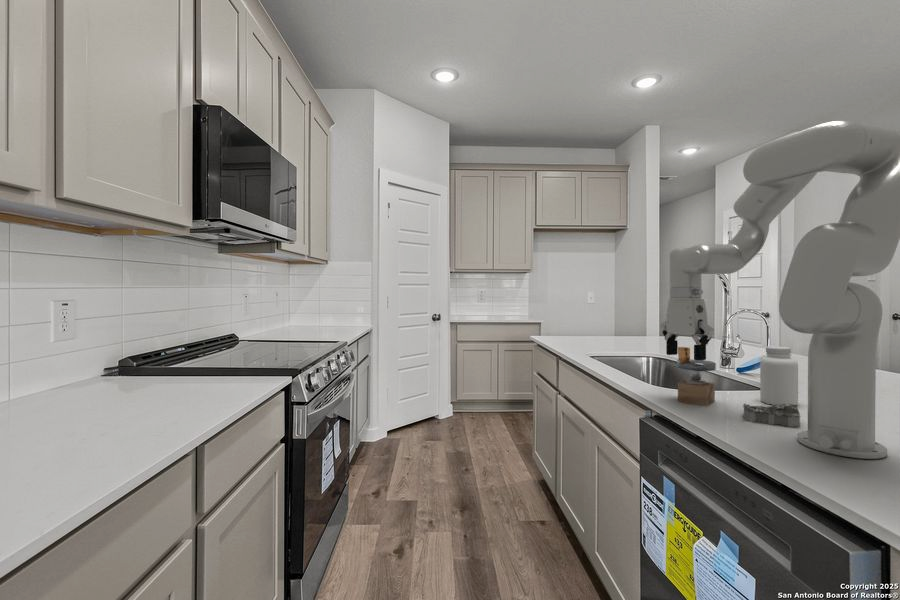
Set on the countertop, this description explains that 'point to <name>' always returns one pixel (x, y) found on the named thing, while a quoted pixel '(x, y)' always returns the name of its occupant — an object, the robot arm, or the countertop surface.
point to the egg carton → (773, 414)
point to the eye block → (696, 392)
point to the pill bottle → (778, 377)
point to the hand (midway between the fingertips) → (685, 357)
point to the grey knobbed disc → (693, 363)
